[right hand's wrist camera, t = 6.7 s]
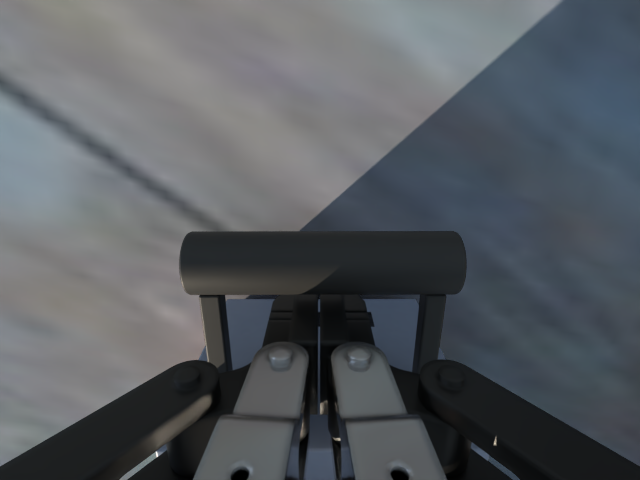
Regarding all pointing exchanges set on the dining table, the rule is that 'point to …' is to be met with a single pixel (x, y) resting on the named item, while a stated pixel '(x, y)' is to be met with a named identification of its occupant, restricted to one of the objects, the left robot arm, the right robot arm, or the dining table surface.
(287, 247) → the drawer
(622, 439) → the dining table surface
